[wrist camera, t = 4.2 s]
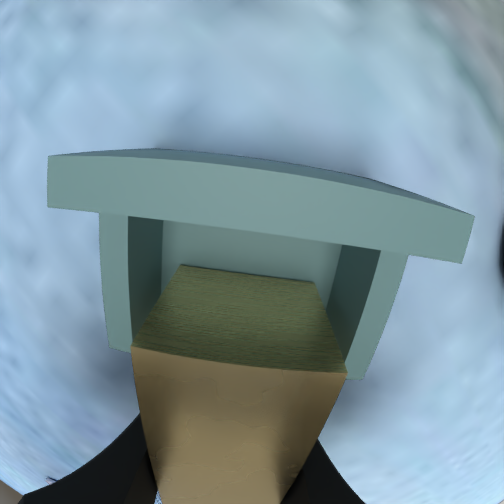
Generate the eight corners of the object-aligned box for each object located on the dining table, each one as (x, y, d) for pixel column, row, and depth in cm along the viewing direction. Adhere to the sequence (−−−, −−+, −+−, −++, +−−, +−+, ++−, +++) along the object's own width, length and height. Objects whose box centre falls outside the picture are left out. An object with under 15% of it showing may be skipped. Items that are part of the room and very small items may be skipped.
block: (247, 501, 14) (245, 551, 10) (185, 493, 14) (176, 543, 10) (314, 283, 9) (348, 373, 5) (180, 264, 9) (130, 345, 5)
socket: (337, 318, 10) (381, 430, 5) (147, 293, 10) (80, 393, 5) (370, 179, 8) (474, 216, 4) (153, 148, 8) (48, 156, 4)
